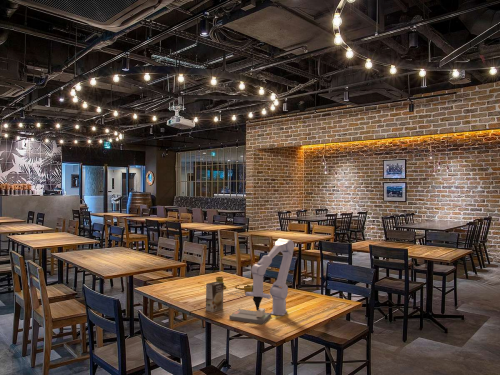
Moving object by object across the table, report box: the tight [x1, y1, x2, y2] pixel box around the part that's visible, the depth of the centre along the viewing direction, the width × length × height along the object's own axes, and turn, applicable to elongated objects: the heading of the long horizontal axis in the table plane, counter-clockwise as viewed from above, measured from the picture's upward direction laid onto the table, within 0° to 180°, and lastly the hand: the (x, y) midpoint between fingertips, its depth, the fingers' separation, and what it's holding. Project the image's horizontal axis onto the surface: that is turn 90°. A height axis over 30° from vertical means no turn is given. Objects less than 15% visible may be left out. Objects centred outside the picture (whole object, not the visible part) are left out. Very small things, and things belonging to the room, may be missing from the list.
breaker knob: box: [255, 307, 266, 317], centre depth 220 cm, size 3×6×3 cm, turn 158°
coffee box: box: [205, 281, 225, 313], centre depth 238 cm, size 9×6×16 cm
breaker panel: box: [229, 308, 272, 325], centre depth 223 cm, size 20×14×2 cm
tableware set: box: [215, 276, 253, 297], centre depth 290 cm, size 41×28×6 cm
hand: (257, 309), depth 221 cm, fingers closed, pressing on breaker knob
